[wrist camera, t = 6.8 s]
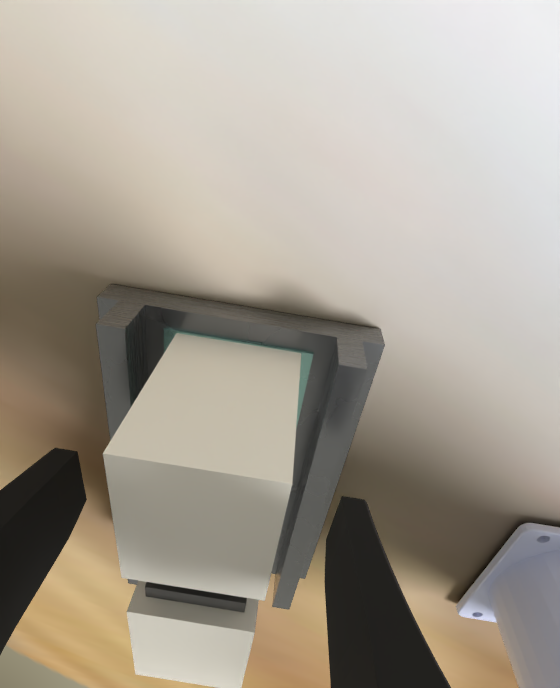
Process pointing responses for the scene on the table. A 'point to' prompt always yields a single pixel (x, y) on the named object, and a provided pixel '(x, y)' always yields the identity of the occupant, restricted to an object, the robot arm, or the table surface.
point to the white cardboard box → (206, 467)
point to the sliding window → (313, 400)
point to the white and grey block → (191, 634)
